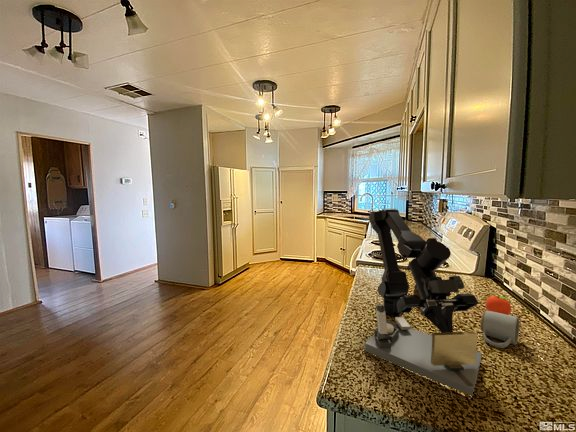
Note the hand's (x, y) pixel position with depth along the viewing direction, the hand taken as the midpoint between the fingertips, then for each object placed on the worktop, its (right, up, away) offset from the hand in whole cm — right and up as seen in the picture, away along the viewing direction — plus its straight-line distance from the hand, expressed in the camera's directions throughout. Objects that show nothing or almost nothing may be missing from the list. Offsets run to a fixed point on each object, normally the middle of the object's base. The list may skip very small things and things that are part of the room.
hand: (450, 338), depth 59 cm
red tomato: (+35, -6, +28) cm, 45 cm away
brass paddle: (0, -6, -1) cm, 6 cm away
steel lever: (-13, -3, +8) cm, 16 cm away
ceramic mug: (+23, -7, +14) cm, 28 cm away
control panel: (-3, -8, +7) cm, 11 cm away
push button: (-10, -4, +12) cm, 17 cm away
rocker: (-4, -4, +16) cm, 17 cm away
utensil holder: (+14, -5, +38) cm, 41 cm away
